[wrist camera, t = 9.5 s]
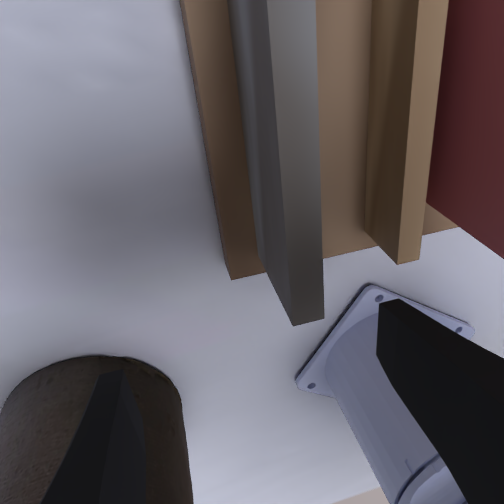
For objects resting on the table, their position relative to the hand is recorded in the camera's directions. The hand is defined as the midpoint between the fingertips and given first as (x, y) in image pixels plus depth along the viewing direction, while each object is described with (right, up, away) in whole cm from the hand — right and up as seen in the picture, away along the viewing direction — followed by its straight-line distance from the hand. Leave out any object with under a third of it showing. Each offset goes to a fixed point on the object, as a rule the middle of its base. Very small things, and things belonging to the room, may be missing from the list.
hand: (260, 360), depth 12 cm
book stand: (+6, +10, +7) cm, 14 cm away
